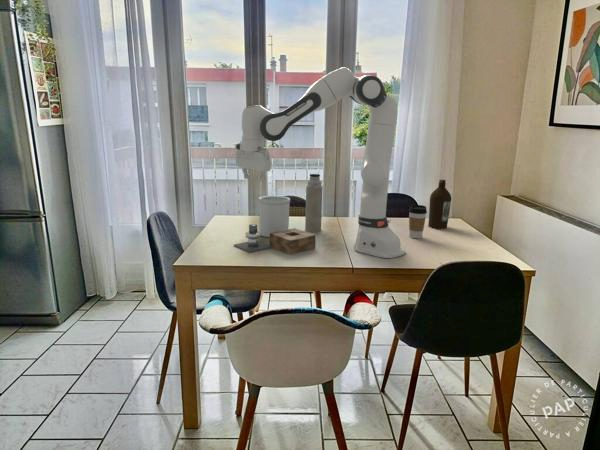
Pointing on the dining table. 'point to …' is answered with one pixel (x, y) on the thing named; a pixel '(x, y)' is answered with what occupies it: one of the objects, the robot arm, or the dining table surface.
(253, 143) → the robot arm
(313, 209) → the thermos bottle
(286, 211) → the utensil holder
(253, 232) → the end cover
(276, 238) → the socket block
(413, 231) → the coffee cup
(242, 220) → the dining table surface
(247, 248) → the mat
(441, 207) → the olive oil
